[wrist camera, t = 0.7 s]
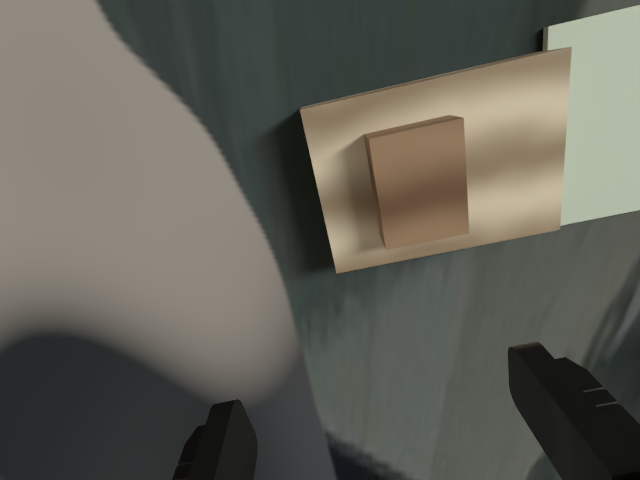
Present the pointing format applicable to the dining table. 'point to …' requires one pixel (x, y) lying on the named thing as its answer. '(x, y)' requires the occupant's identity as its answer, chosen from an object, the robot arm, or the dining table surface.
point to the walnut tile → (419, 181)
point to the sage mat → (601, 114)
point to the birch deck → (480, 147)
